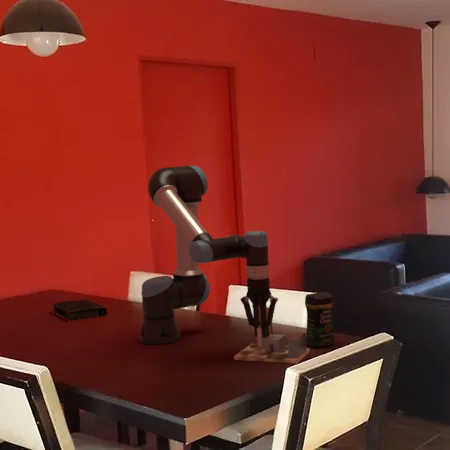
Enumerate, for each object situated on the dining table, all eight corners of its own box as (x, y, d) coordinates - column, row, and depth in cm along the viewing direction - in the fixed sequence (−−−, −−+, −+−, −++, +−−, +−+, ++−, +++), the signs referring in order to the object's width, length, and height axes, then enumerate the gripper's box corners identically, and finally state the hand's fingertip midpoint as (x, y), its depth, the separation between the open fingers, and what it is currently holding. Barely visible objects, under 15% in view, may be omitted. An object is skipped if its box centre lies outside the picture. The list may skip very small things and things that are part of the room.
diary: (88, 308, 349) (87, 298, 349) (107, 317, 328) (107, 306, 327) (49, 314, 340) (49, 303, 339) (66, 323, 318) (66, 311, 318)
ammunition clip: (273, 338, 272) (271, 306, 270) (268, 339, 271) (267, 307, 270) (260, 332, 281) (258, 301, 280) (255, 333, 281) (254, 302, 280)
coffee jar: (316, 349, 254) (313, 296, 252) (302, 344, 261) (300, 293, 259) (338, 344, 258) (336, 292, 256) (325, 340, 265) (323, 289, 263)
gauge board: (233, 359, 246) (233, 352, 246) (249, 348, 259) (249, 341, 259) (297, 364, 238) (296, 356, 237) (309, 352, 251) (309, 345, 250)
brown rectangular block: (288, 357, 241) (287, 339, 240) (297, 349, 250) (297, 332, 249) (297, 358, 240) (296, 340, 239) (306, 350, 249) (305, 332, 248)
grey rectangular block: (260, 357, 242) (259, 342, 242) (271, 348, 252) (271, 334, 252) (275, 358, 240) (274, 343, 240) (285, 349, 250) (285, 334, 250)
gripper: (235, 278, 247) (239, 347, 249) (272, 279, 242) (275, 350, 244) (244, 275, 254) (247, 342, 256) (280, 275, 248) (283, 344, 251)
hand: (261, 346), depth 250 cm, fingers closed
